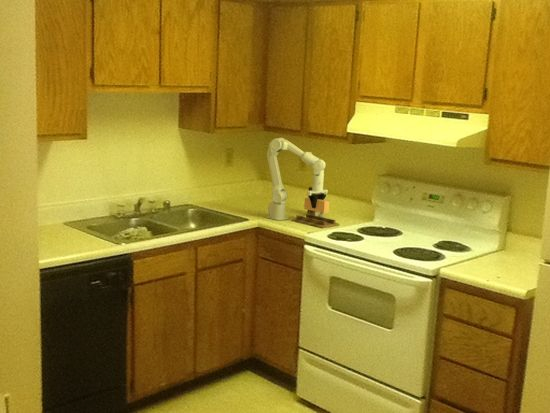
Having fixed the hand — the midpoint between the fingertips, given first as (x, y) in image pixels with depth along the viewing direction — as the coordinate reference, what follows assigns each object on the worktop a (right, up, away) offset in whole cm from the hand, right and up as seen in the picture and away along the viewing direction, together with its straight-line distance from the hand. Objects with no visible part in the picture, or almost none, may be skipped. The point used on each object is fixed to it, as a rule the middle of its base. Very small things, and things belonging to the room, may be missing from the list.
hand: (316, 207), depth 381 cm
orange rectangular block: (0, -2, 0) cm, 2 cm away
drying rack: (0, -8, +2) cm, 9 cm away
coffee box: (+1, -5, +21) cm, 22 cm away
